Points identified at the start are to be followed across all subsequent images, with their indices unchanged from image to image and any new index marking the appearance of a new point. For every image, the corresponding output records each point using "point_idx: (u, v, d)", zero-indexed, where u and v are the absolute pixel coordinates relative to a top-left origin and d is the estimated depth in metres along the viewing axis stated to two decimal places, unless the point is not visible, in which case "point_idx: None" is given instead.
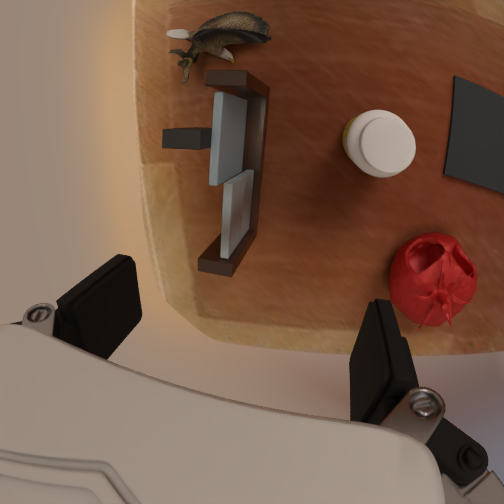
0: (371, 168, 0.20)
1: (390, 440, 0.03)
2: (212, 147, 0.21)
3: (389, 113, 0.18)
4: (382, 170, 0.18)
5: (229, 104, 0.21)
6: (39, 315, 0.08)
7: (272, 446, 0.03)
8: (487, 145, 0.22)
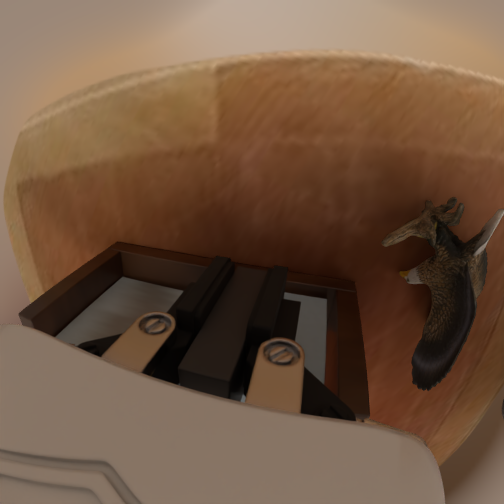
0: None
1: (390, 440, 0.03)
2: None
3: None
4: None
5: None
6: (156, 323, 0.08)
7: (272, 446, 0.03)
8: None
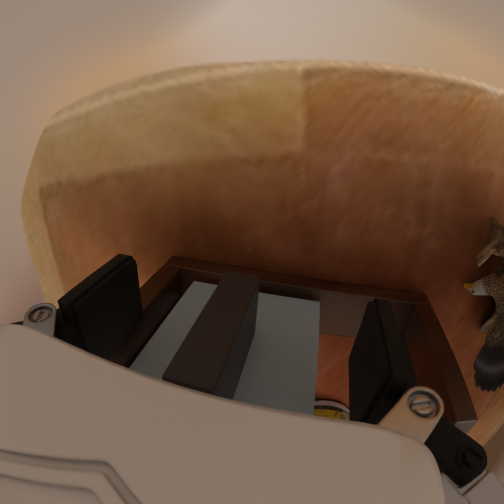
0: None
1: (390, 440, 0.03)
2: None
3: None
4: None
5: None
6: (40, 314, 0.08)
7: (272, 446, 0.03)
8: None
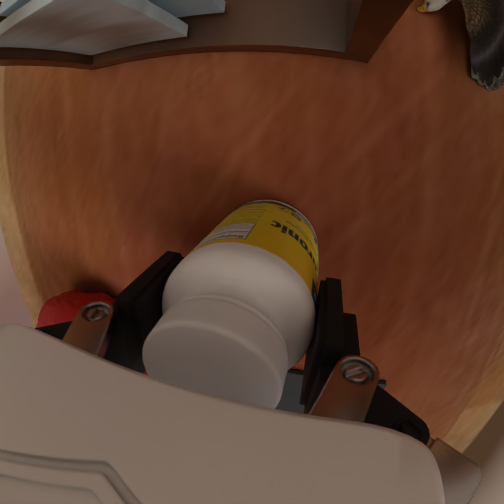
0: (169, 305, 0.09)
1: (390, 440, 0.03)
2: None
3: (305, 348, 0.09)
4: (145, 359, 0.07)
5: None
6: (96, 312, 0.08)
7: (272, 446, 0.03)
8: None
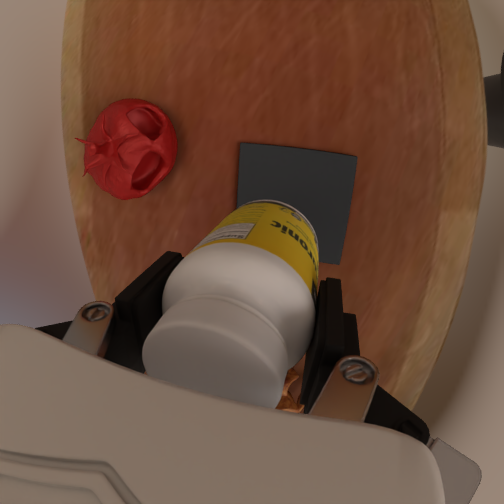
0: (169, 305, 0.09)
1: (390, 440, 0.03)
2: None
3: (304, 348, 0.09)
4: (145, 359, 0.07)
5: None
6: (96, 312, 0.08)
7: (272, 446, 0.03)
8: (284, 199, 0.28)
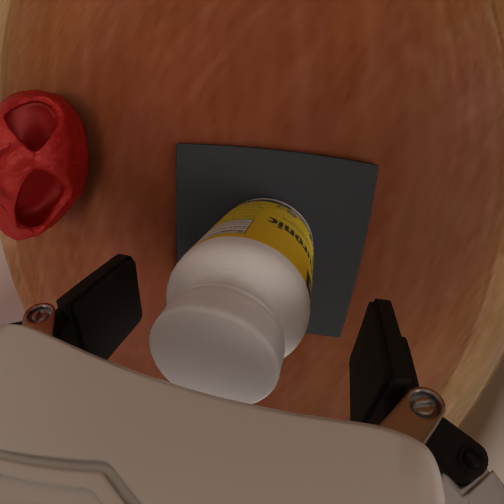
0: (173, 296, 0.10)
1: (390, 440, 0.03)
2: None
3: (300, 335, 0.10)
4: (151, 344, 0.08)
5: None
6: (39, 314, 0.08)
7: (272, 446, 0.03)
8: None
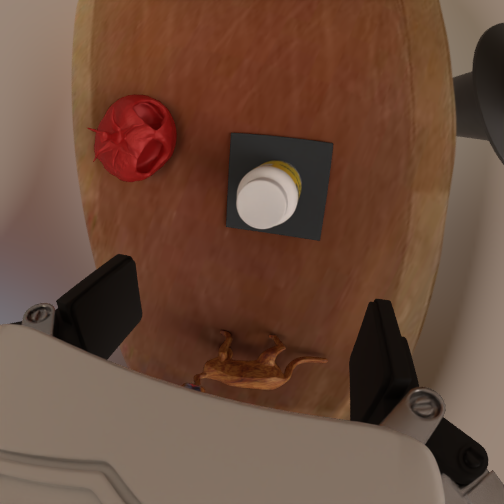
0: (242, 189, 0.25)
1: (390, 440, 0.03)
2: None
3: (294, 205, 0.25)
4: (237, 199, 0.23)
5: None
6: (39, 315, 0.08)
7: (272, 446, 0.03)
8: None
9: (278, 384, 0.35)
